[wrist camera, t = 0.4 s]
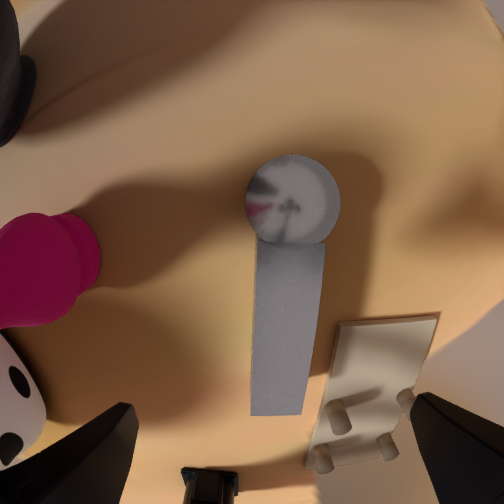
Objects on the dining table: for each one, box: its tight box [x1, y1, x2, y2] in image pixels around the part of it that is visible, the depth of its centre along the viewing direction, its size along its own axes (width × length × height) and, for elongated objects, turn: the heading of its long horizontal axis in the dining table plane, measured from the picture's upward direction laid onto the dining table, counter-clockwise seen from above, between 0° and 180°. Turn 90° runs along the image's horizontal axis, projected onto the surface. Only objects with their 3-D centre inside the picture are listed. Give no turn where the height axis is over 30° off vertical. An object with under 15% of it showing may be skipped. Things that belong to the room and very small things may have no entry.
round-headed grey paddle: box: [246, 155, 341, 416], centre depth 17 cm, size 16×5×4 cm, turn 179°
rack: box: [303, 315, 437, 474], centre depth 20 cm, size 19×9×4 cm, turn 179°
